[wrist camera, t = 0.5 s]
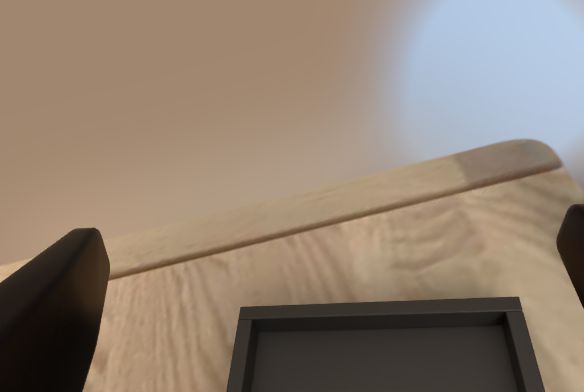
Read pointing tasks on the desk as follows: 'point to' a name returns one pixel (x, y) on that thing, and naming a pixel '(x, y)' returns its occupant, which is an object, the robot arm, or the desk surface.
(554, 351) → the desk surface
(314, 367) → the tray
